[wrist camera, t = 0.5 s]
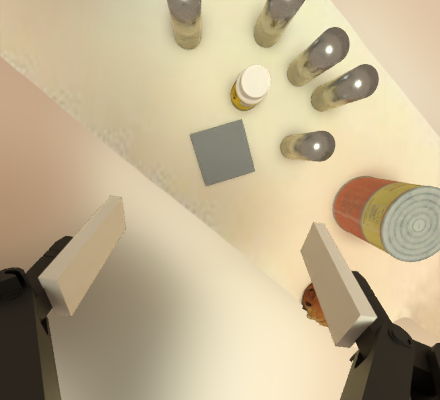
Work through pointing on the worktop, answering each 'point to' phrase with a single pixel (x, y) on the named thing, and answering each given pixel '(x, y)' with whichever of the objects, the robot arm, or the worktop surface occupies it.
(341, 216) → the canned food
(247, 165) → the mat
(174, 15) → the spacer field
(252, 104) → the supplement bottle
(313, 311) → the bread roll
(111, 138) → the worktop surface
